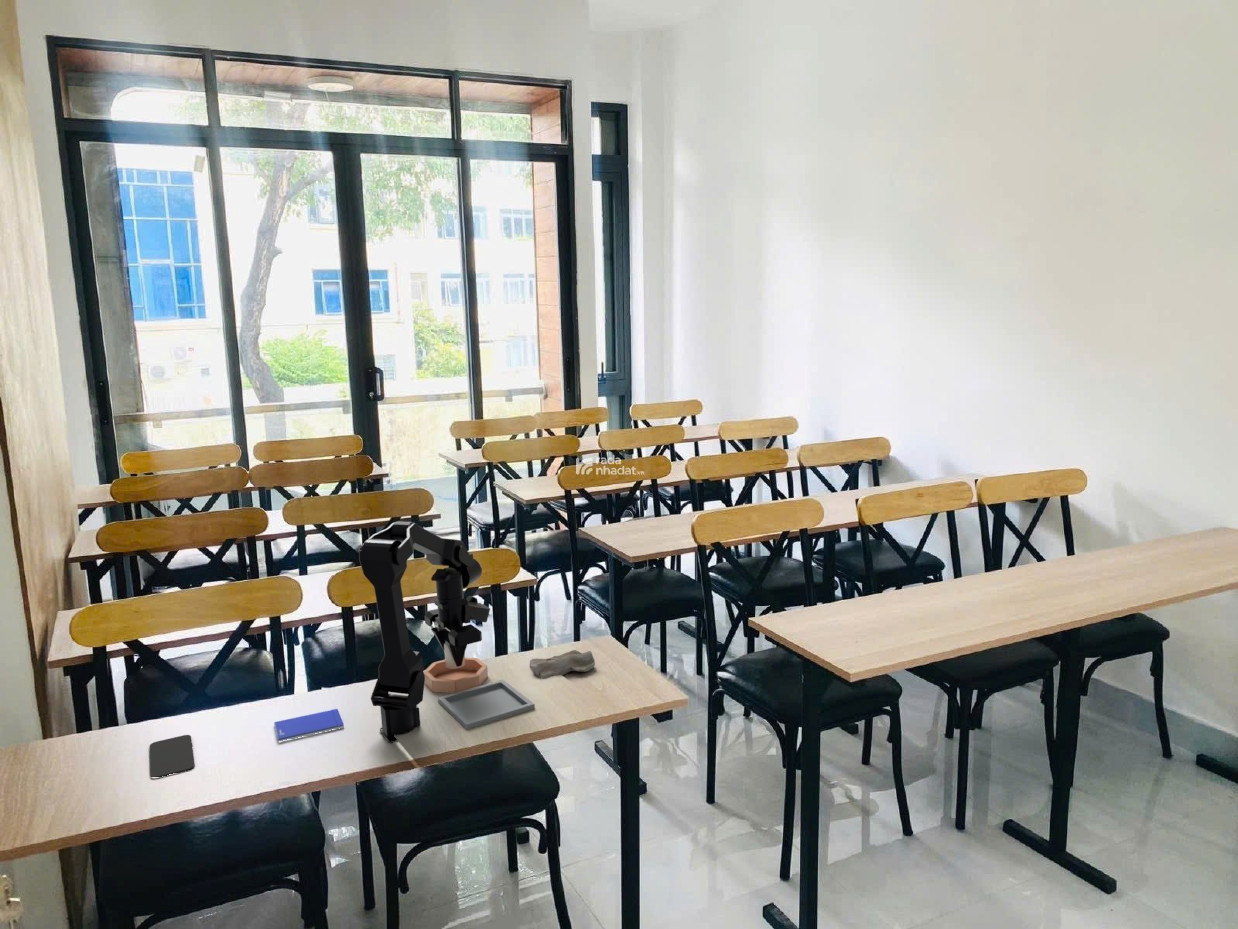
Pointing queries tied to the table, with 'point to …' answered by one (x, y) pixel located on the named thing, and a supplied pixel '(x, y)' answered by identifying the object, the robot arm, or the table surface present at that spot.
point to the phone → (171, 756)
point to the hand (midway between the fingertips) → (454, 662)
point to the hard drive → (308, 725)
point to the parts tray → (485, 704)
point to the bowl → (455, 676)
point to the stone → (563, 664)
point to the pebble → (451, 659)
